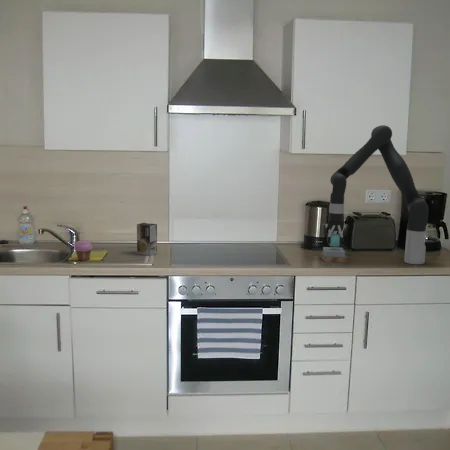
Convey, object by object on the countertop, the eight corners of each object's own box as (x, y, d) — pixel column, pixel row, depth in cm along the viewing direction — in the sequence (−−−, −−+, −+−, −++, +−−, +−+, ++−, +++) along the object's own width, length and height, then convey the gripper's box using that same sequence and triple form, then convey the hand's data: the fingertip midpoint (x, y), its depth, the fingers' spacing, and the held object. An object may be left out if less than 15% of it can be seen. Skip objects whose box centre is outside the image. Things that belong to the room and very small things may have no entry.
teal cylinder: (338, 244, 287) (338, 233, 286) (340, 246, 282) (341, 235, 281) (328, 244, 287) (329, 233, 286) (330, 246, 282) (331, 235, 281)
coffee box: (157, 253, 290) (157, 224, 288) (150, 255, 285) (149, 225, 282) (144, 251, 295) (144, 222, 292) (136, 253, 290) (136, 223, 287)
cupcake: (84, 262, 268) (83, 242, 266) (70, 260, 272) (70, 240, 270) (96, 259, 276) (95, 239, 274) (83, 257, 280) (82, 238, 278)
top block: (341, 253, 290) (341, 247, 289) (344, 257, 280) (345, 251, 280) (322, 252, 291) (323, 247, 290) (325, 257, 281) (325, 251, 280)
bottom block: (342, 258, 292) (342, 252, 292) (347, 263, 280) (347, 257, 280) (319, 257, 292) (320, 252, 291) (324, 263, 280) (324, 257, 280)
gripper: (348, 211, 285) (346, 242, 288) (321, 210, 285) (319, 242, 288) (351, 213, 278) (349, 245, 281) (324, 212, 278) (322, 245, 281)
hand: (334, 243), depth 285 cm, fingers closed on teal cylinder, 5 cm apart
